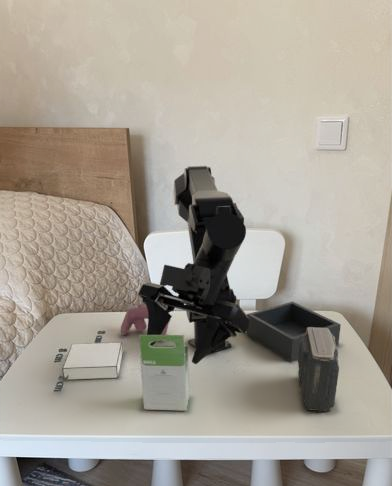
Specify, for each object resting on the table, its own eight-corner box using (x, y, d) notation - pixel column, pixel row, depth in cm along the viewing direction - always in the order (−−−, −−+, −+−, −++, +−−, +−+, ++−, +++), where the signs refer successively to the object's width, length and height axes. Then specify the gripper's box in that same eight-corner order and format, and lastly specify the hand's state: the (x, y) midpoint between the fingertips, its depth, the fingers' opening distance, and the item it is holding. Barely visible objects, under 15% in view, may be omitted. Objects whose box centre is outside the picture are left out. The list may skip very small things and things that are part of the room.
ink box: (189, 398, 85) (187, 324, 80) (187, 412, 82) (184, 335, 76) (148, 396, 86) (142, 323, 80) (143, 410, 83) (137, 334, 77)
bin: (246, 334, 107) (246, 313, 105) (291, 321, 112) (292, 301, 110) (291, 361, 96) (292, 339, 94) (338, 345, 101) (340, 324, 99)
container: (114, 394, 87) (113, 380, 86) (46, 397, 87) (43, 383, 86) (125, 341, 105) (124, 329, 104) (68, 343, 105) (66, 331, 104)
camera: (335, 414, 80) (342, 357, 76) (298, 412, 81) (302, 356, 77) (329, 377, 91) (334, 325, 86) (295, 375, 91) (299, 324, 87)
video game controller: (170, 341, 108) (174, 307, 108) (162, 340, 104) (166, 305, 104) (127, 335, 111) (131, 302, 111) (117, 334, 107) (122, 300, 107)
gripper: (141, 234, 83) (98, 320, 80) (240, 252, 73) (195, 352, 69) (174, 268, 92) (136, 347, 89) (266, 288, 82) (227, 378, 79)
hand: (170, 355), depth 81 cm, fingers open, 9 cm apart
